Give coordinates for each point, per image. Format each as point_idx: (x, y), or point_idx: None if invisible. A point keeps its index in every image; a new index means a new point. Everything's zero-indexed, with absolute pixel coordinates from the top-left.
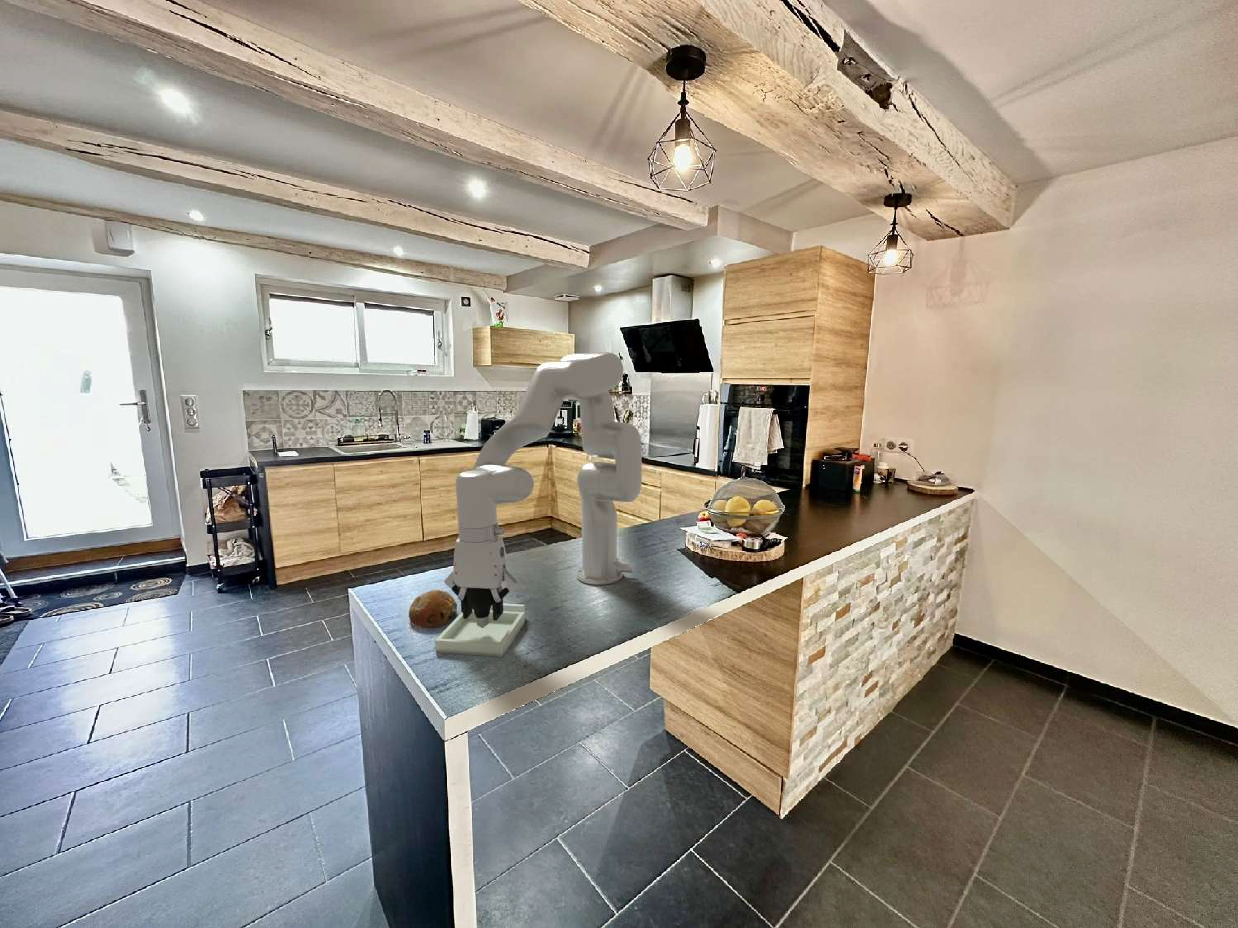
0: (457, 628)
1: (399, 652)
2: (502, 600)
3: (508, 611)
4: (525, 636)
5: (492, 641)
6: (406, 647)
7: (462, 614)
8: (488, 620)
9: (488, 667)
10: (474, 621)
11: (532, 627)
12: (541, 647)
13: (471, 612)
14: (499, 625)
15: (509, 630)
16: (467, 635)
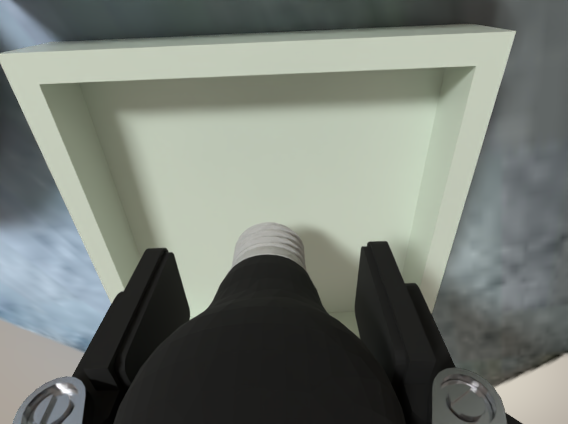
0: (118, 202)
1: (35, 331)
2: (450, 367)
3: (376, 39)
4: (482, 176)
5: (342, 262)
6: (26, 309)
7: (58, 145)
8: (300, 246)
9: None
10: (146, 99)
11: (523, 76)
12: (556, 245)
13: (174, 265)
14: (324, 121)
15: (432, 267)
16: (205, 236)
